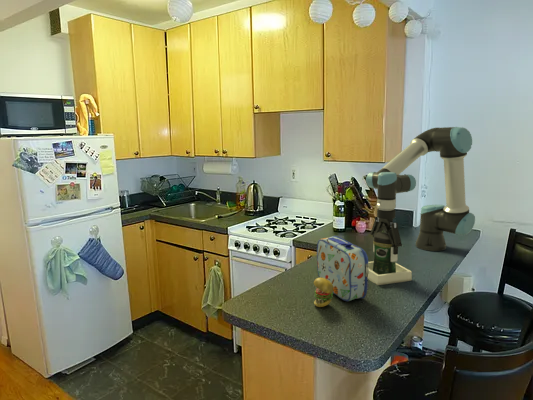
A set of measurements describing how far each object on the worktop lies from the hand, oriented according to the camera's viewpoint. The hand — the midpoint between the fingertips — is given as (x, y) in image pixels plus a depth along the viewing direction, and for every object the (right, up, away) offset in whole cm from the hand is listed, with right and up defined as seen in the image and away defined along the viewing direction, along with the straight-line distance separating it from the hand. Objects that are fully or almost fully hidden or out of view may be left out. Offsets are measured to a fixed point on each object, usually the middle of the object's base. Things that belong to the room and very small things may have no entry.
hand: (384, 256), depth 166 cm
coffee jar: (0, -8, +1) cm, 8 cm away
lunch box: (-22, -12, -14) cm, 28 cm away
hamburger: (-31, -15, -26) cm, 43 cm away
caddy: (0, -9, +1) cm, 9 cm away
